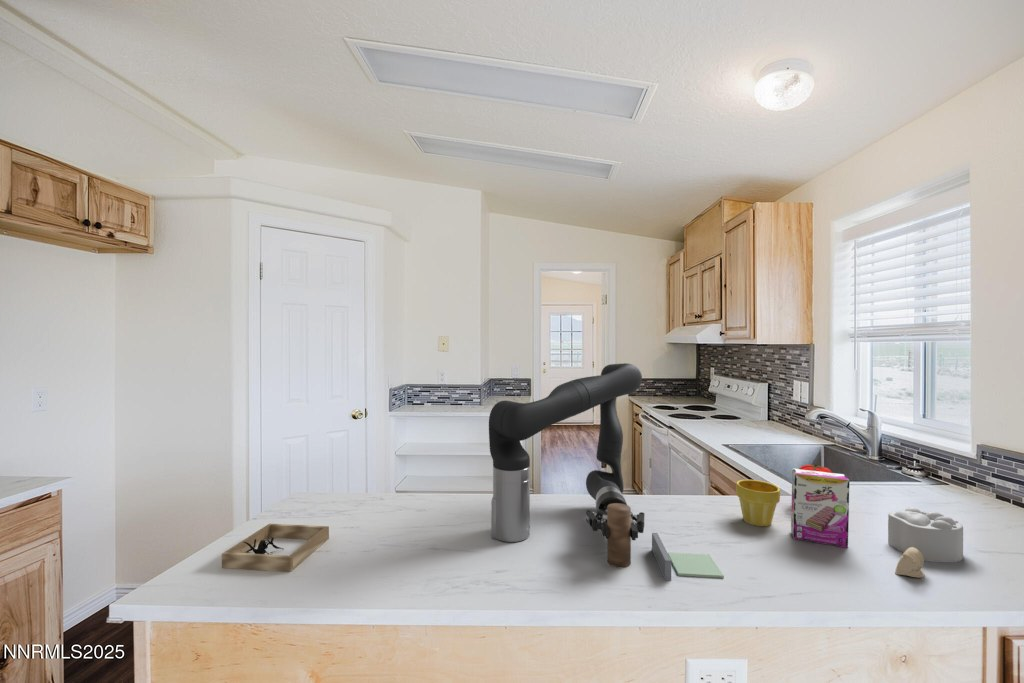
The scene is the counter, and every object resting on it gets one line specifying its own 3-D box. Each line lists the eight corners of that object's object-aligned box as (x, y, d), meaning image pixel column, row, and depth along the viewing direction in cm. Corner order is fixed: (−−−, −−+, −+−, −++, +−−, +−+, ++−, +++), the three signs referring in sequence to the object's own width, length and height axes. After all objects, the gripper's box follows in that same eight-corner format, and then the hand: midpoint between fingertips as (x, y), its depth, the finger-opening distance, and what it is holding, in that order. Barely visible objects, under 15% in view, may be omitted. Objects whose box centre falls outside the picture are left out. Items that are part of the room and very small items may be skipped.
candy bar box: (793, 540, 108) (794, 473, 108) (790, 532, 113) (790, 467, 113) (849, 549, 103) (850, 479, 103) (844, 540, 108) (844, 473, 108)
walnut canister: (608, 567, 95) (608, 511, 95) (606, 555, 100) (606, 502, 100) (632, 568, 95) (632, 512, 95) (628, 556, 100) (628, 503, 100)
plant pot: (788, 529, 114) (789, 491, 114) (748, 529, 114) (748, 491, 114) (765, 514, 124) (765, 479, 124) (728, 514, 124) (728, 479, 124)
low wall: (665, 579, 90) (665, 560, 90) (651, 549, 103) (651, 532, 103) (671, 580, 90) (671, 560, 90) (657, 550, 103) (657, 532, 103)
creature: (250, 554, 103) (237, 563, 96) (252, 529, 104) (239, 536, 97) (286, 551, 105) (276, 559, 97) (288, 526, 106) (278, 533, 98)
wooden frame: (221, 567, 95) (221, 553, 95) (269, 535, 110) (269, 523, 110) (290, 571, 93) (290, 557, 93) (328, 538, 109) (328, 526, 109)
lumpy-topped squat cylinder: (881, 540, 108) (881, 504, 108) (937, 541, 108) (937, 506, 108) (917, 561, 98) (917, 522, 98) (979, 563, 97) (980, 523, 97)
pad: (678, 575, 92) (678, 573, 92) (667, 554, 101) (667, 552, 101) (723, 578, 91) (723, 575, 91) (709, 556, 100) (709, 554, 100)
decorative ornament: (927, 571, 94) (927, 546, 94) (917, 584, 89) (917, 557, 89) (902, 563, 97) (902, 539, 97) (891, 576, 92) (891, 550, 92)
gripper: (582, 489, 112) (586, 516, 96) (640, 491, 111) (655, 519, 94) (582, 519, 112) (586, 551, 96) (640, 521, 111) (655, 554, 94)
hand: (620, 535), depth 95 cm, fingers closed on walnut canister, 5 cm apart
